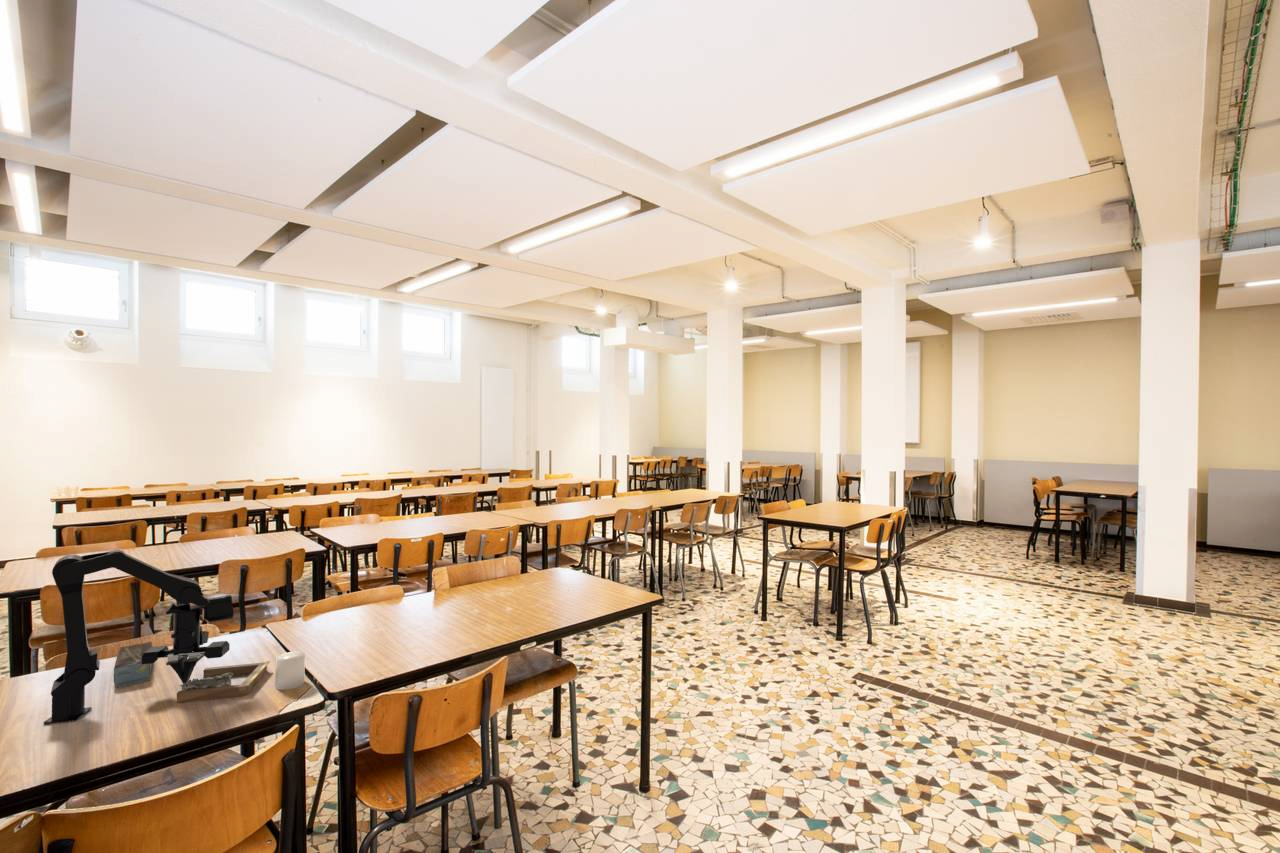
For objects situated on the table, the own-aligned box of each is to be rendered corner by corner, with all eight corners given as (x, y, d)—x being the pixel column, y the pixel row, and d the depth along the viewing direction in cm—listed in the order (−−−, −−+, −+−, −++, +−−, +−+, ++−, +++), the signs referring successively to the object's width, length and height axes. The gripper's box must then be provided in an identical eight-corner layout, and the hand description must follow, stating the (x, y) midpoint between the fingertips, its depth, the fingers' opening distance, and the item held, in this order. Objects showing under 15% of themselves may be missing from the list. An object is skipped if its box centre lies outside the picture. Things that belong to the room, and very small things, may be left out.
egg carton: (235, 686, 161) (236, 671, 161) (217, 698, 153) (218, 683, 153) (195, 686, 160) (196, 672, 160) (175, 699, 152) (176, 683, 152)
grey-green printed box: (112, 689, 158) (112, 665, 158) (118, 667, 173) (118, 645, 173) (150, 681, 163) (150, 658, 163) (153, 661, 178) (153, 639, 178)
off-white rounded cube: (300, 688, 159) (300, 659, 159) (271, 691, 157) (271, 662, 157) (307, 678, 165) (307, 650, 165) (279, 680, 163) (280, 652, 163)
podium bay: (248, 695, 154) (248, 684, 154) (176, 703, 150) (176, 692, 150) (269, 670, 171) (269, 660, 171) (205, 676, 166) (205, 666, 166)
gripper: (237, 614, 168) (236, 668, 168) (161, 620, 163) (160, 675, 163) (221, 627, 157) (220, 684, 157) (139, 633, 152) (138, 692, 152)
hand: (185, 683), depth 158 cm, fingers closed
